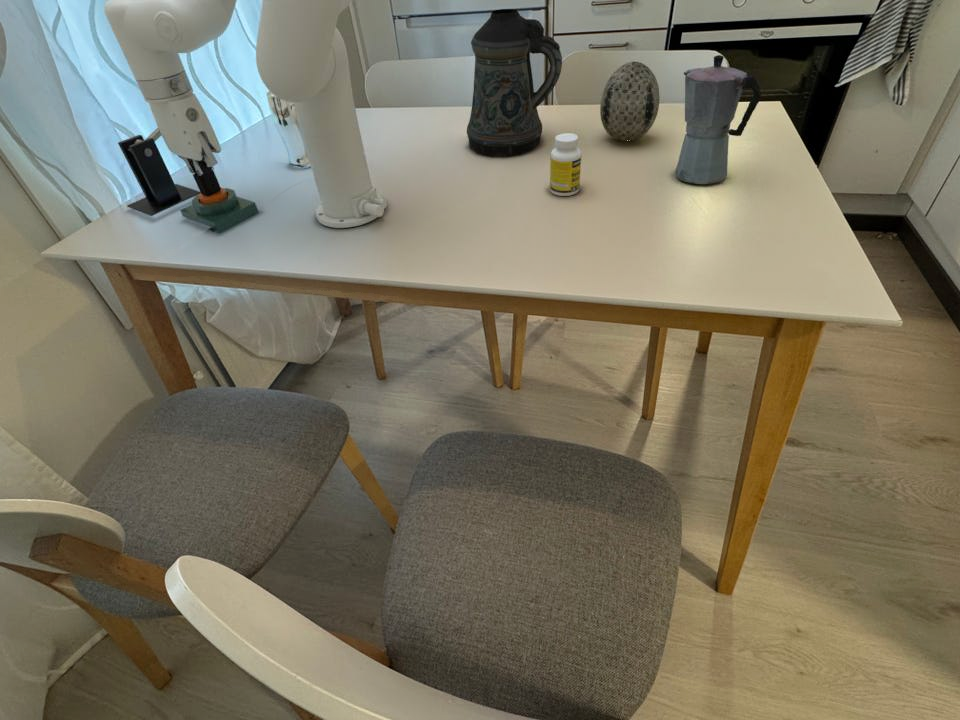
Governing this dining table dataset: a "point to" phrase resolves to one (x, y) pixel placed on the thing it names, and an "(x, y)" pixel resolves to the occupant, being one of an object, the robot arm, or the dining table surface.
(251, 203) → the block
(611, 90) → the decorative egg
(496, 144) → the beer stein
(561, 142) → the supplement bottle
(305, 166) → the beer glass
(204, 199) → the button
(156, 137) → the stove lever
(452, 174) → the dining table surface
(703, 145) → the moka pot
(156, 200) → the lever bracket
